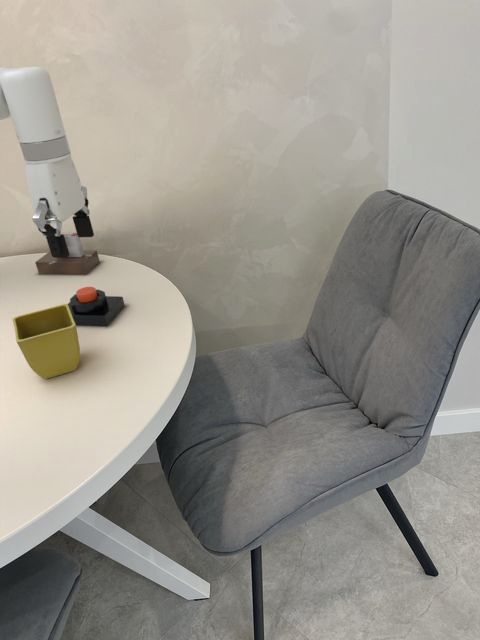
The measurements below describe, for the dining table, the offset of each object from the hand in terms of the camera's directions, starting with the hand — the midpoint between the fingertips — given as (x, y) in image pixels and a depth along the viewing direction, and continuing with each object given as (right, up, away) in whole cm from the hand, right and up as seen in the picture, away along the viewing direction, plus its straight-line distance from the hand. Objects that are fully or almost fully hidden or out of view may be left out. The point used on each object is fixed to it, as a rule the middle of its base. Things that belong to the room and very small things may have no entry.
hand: (74, 246), depth 101 cm
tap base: (-10, 0, +27) cm, 29 cm away
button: (+2, -9, +3) cm, 10 cm away
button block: (+2, -12, +5) cm, 14 cm away
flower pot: (+1, -22, -10) cm, 25 cm away
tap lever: (-10, +2, +25) cm, 27 cm away
